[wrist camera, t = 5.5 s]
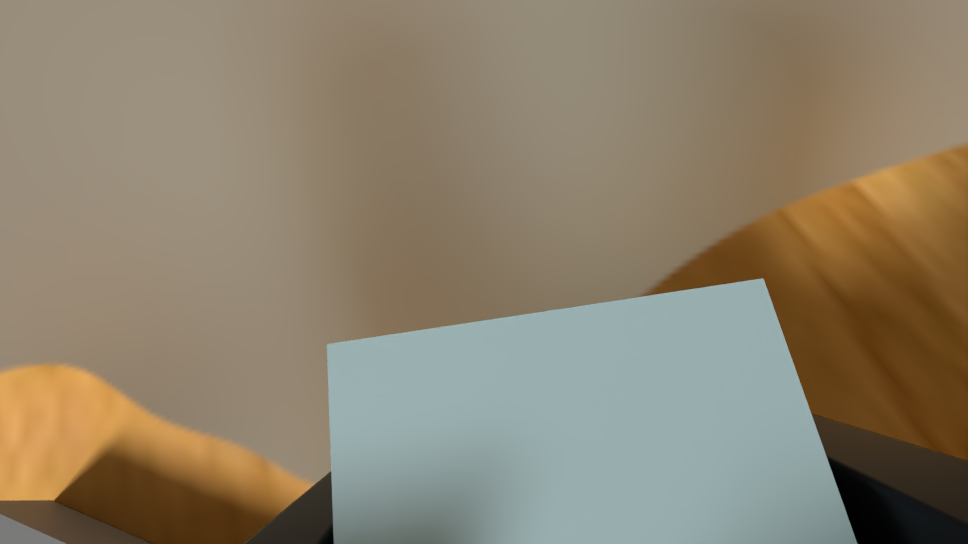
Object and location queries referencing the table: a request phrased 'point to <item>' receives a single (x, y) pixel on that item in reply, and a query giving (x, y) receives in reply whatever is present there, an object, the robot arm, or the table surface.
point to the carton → (583, 429)
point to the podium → (55, 525)
